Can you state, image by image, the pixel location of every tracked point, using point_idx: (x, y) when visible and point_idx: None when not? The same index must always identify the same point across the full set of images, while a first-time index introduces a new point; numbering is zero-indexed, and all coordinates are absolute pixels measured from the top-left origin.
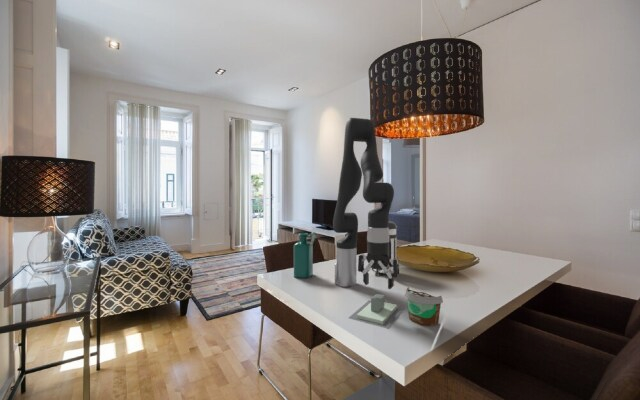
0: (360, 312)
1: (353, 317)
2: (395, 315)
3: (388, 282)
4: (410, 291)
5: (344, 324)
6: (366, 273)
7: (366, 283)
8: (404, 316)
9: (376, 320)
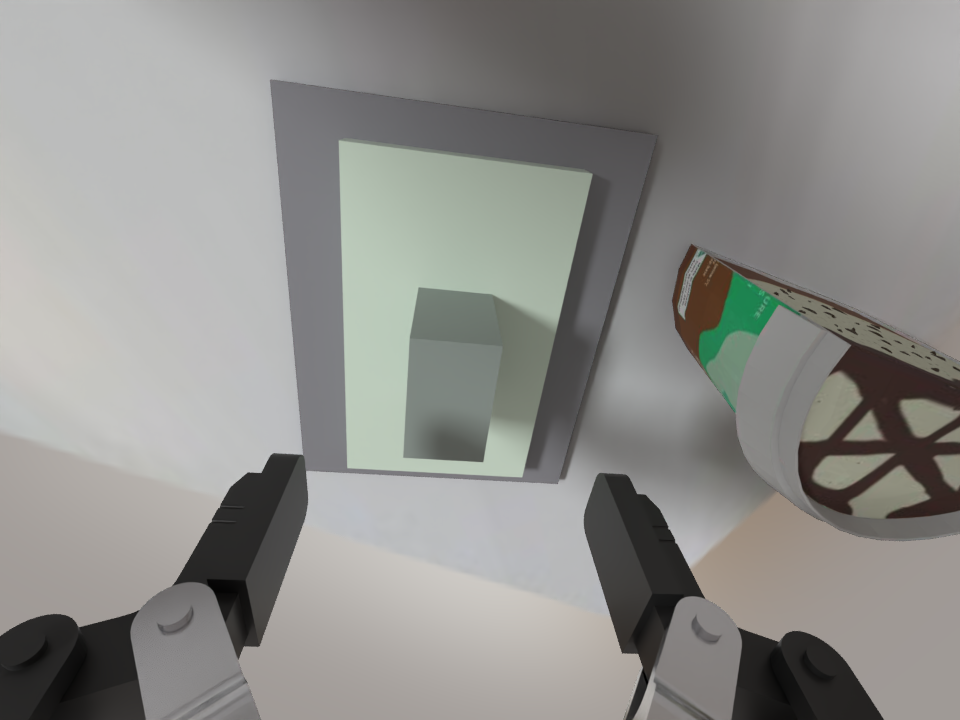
0: (353, 435)
1: (330, 455)
2: (580, 318)
3: (609, 595)
4: (827, 388)
5: (319, 508)
6: (239, 648)
7: (302, 523)
8: (641, 271)
9: (482, 471)
